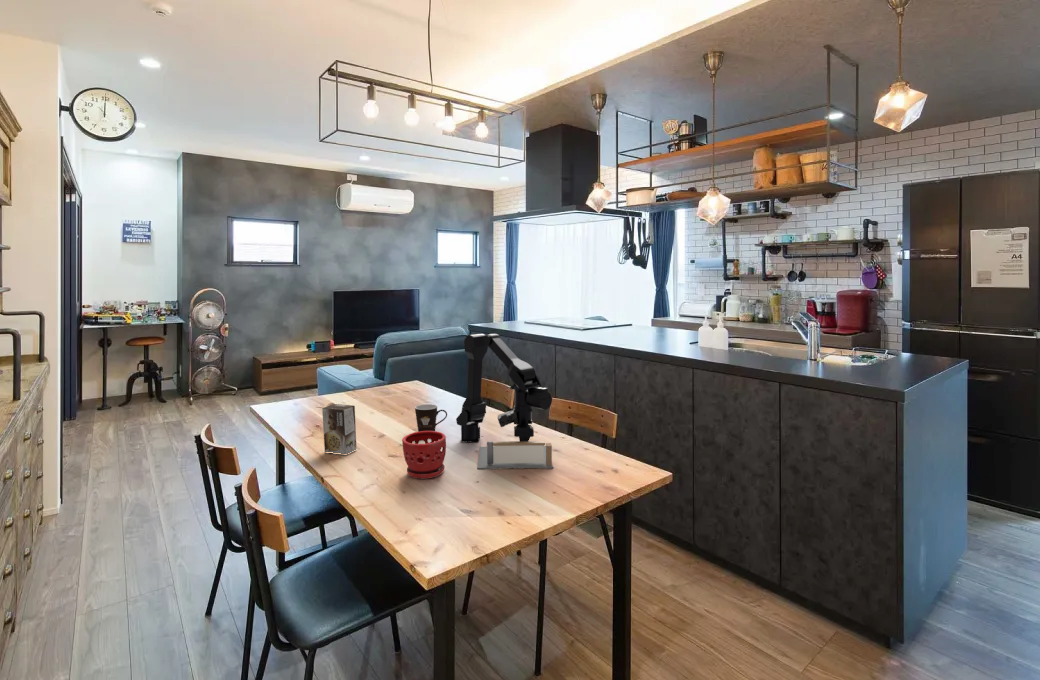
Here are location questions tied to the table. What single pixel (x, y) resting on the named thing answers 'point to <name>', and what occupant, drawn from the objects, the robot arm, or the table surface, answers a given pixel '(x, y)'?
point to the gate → (515, 452)
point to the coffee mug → (427, 417)
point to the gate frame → (483, 463)
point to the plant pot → (424, 454)
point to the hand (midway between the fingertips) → (522, 449)
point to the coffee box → (339, 428)
